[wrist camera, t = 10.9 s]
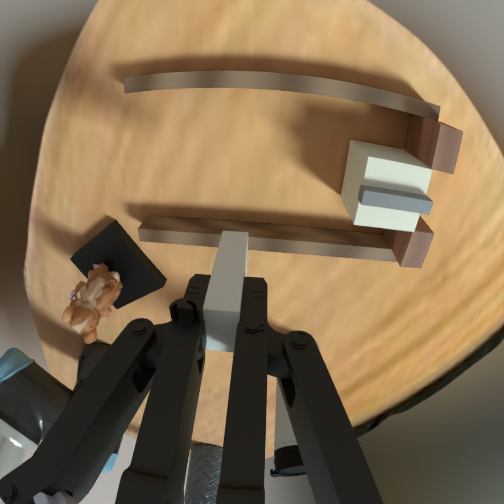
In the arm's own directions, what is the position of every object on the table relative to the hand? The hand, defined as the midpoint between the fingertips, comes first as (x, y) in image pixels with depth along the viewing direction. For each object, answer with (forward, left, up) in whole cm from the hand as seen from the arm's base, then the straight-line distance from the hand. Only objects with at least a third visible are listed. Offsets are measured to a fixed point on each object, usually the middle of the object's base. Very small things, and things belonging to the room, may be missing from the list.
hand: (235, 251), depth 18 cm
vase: (-9, -85, -13) cm, 86 cm away
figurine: (-17, -13, -13) cm, 25 cm away
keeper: (+12, +2, -13) cm, 18 cm away
